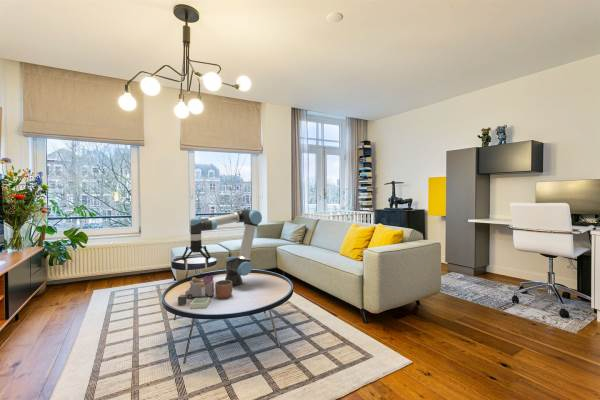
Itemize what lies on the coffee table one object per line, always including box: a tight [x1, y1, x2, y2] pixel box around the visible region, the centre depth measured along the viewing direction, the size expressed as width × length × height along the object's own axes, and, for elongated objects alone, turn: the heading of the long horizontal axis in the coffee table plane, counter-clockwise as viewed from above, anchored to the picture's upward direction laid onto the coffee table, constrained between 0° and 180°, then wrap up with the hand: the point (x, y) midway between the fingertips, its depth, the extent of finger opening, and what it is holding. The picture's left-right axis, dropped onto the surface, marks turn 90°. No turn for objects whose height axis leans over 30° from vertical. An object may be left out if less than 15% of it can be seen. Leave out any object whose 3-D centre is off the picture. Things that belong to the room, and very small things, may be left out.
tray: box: [189, 296, 211, 309], centre depth 199 cm, size 11×11×4 cm
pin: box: [200, 283, 206, 298], centre depth 206 cm, size 4×4×12 cm
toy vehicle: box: [184, 275, 215, 300], centre depth 215 cm, size 9×20×15 cm, turn 95°
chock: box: [177, 294, 187, 306], centre depth 201 cm, size 4×5×6 cm
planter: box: [214, 279, 233, 300], centre depth 215 cm, size 12×12×11 cm
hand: (196, 268), depth 210 cm, fingers open, 13 cm apart
